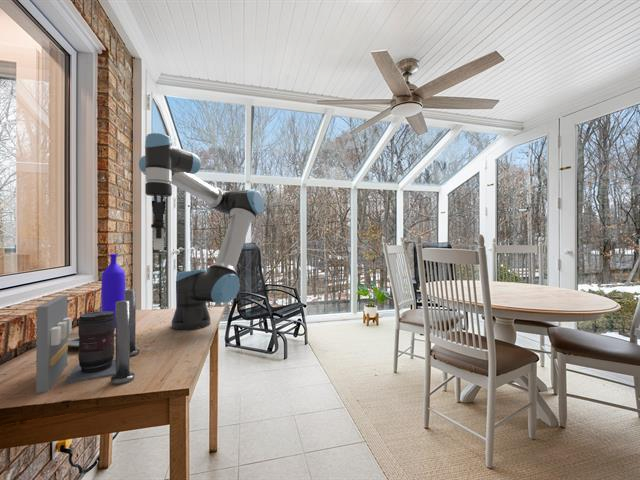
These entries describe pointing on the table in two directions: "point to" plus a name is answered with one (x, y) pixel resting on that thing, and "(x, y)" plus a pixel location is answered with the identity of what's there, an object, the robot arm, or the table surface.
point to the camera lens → (96, 341)
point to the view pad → (90, 374)
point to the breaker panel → (51, 341)
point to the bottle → (112, 286)
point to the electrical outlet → (76, 342)
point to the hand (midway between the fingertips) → (158, 249)
